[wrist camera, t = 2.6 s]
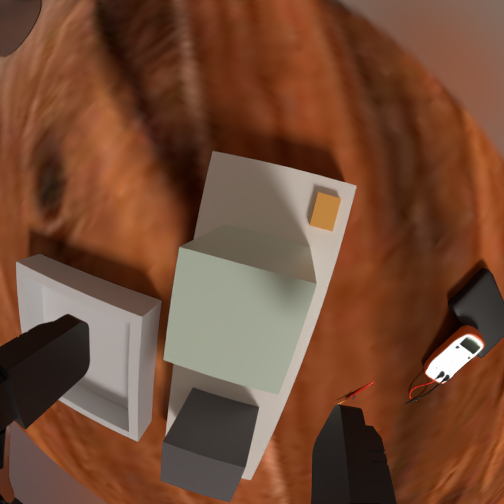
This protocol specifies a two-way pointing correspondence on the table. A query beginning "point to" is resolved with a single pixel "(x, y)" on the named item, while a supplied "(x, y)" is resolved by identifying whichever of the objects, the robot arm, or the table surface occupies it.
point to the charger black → (208, 445)
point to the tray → (98, 339)
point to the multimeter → (467, 329)
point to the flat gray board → (280, 226)
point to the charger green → (239, 306)
